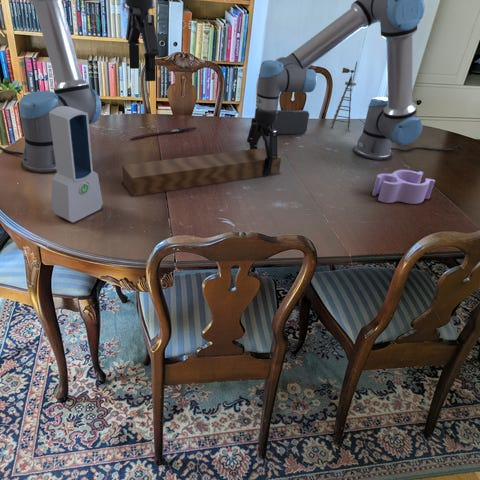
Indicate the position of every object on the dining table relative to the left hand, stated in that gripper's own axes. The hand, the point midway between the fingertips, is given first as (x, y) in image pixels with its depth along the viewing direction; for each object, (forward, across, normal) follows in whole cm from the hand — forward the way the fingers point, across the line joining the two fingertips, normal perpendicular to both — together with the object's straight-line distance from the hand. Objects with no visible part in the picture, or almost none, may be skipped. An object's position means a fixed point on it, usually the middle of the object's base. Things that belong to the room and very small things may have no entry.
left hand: (142, 74), depth 133 cm
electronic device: (+36, -9, +23) cm, 44 cm away
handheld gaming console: (+36, +30, -74) cm, 87 cm away
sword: (+36, +42, -23) cm, 60 cm away
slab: (+36, 0, -22) cm, 42 cm away
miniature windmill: (+36, +31, -107) cm, 117 cm away
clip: (+36, -34, -81) cm, 95 cm away
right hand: (+35, 0, -44) cm, 56 cm away
